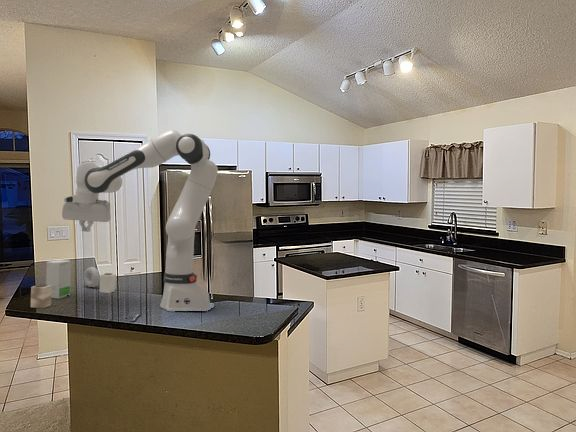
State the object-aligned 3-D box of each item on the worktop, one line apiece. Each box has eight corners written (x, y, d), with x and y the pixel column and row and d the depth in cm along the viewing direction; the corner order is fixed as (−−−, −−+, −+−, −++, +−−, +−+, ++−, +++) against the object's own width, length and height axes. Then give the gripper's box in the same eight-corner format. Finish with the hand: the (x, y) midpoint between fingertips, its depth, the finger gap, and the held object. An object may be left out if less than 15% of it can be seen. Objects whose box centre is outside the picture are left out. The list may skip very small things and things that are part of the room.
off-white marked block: (115, 290, 200) (116, 273, 200) (109, 292, 195) (110, 275, 195) (105, 289, 200) (106, 272, 200) (99, 292, 195) (100, 274, 195)
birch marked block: (50, 305, 169) (51, 284, 169) (42, 308, 164) (43, 287, 164) (39, 304, 170) (40, 283, 169) (30, 307, 165) (31, 286, 164)
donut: (101, 288, 203) (101, 267, 202) (94, 289, 200) (95, 268, 199) (88, 285, 208) (89, 265, 207) (81, 286, 205) (82, 266, 204)
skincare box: (58, 299, 179) (59, 262, 178) (44, 297, 180) (45, 261, 179) (71, 295, 187) (72, 260, 187) (57, 293, 188) (58, 259, 187)
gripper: (113, 200, 183) (112, 232, 183) (69, 198, 185) (68, 229, 185) (106, 200, 176) (105, 233, 177) (60, 197, 178) (59, 230, 179)
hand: (85, 231), depth 181 cm, fingers closed
